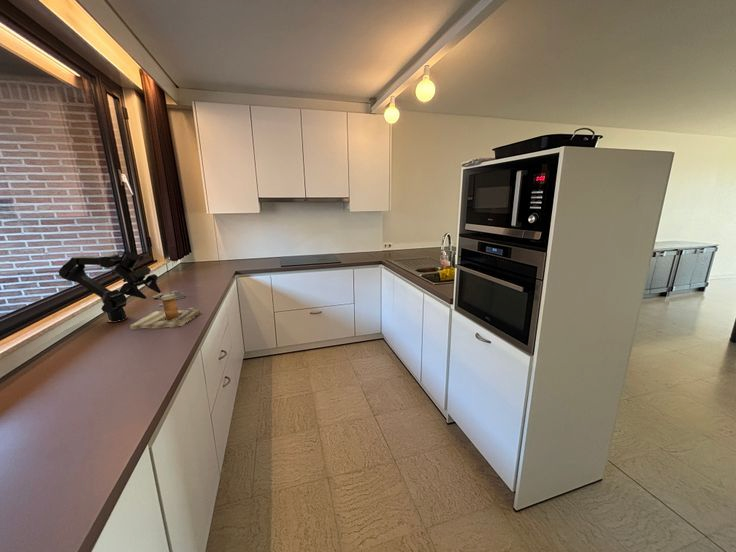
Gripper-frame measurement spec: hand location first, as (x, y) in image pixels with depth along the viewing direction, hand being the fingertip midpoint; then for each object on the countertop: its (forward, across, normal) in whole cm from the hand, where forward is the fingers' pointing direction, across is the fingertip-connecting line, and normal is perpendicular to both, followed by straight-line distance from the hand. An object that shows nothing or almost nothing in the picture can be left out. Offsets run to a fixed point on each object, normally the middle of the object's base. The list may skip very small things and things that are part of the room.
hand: (153, 295), depth 152 cm
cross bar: (+18, +1, -1) cm, 18 cm away
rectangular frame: (+13, 0, +6) cm, 14 cm away
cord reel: (+15, 0, +4) cm, 16 cm away
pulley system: (-3, +32, +24) cm, 40 cm away
